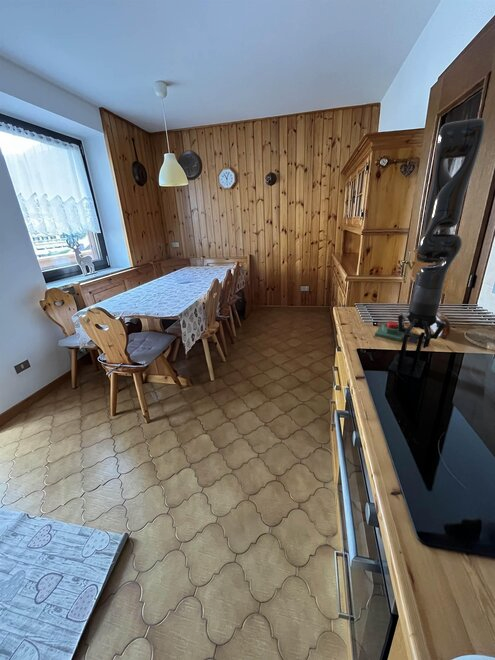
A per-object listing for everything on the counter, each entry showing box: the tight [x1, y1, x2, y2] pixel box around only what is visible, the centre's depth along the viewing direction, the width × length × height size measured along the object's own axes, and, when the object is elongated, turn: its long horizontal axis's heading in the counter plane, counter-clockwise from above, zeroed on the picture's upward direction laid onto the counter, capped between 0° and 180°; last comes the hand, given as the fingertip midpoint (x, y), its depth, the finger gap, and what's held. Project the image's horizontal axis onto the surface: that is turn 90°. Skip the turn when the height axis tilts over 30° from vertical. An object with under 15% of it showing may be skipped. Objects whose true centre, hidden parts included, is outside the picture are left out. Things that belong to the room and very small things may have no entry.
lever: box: [408, 332, 426, 345], centre depth 92 cm, size 13×5×2 cm, turn 143°
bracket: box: [387, 329, 427, 379], centre depth 90 cm, size 11×9×13 cm
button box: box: [374, 322, 404, 343], centre depth 112 cm, size 11×9×4 cm
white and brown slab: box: [430, 309, 451, 339], centre depth 111 cm, size 15×3×8 cm, turn 168°
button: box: [386, 320, 399, 329], centre depth 111 cm, size 4×4×2 cm
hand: (415, 344), depth 98 cm, fingers closed on lever, 5 cm apart
